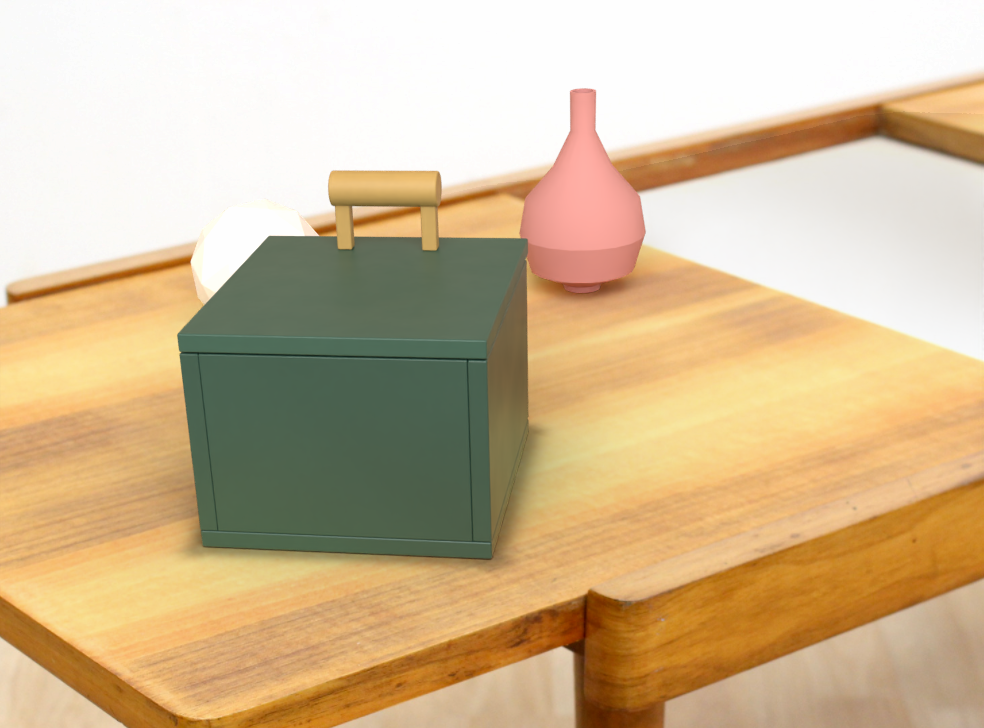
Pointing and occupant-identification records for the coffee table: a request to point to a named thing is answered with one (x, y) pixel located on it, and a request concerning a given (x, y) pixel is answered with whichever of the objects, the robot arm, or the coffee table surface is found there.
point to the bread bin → (359, 447)
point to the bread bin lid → (365, 285)
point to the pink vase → (582, 211)
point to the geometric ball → (239, 240)
